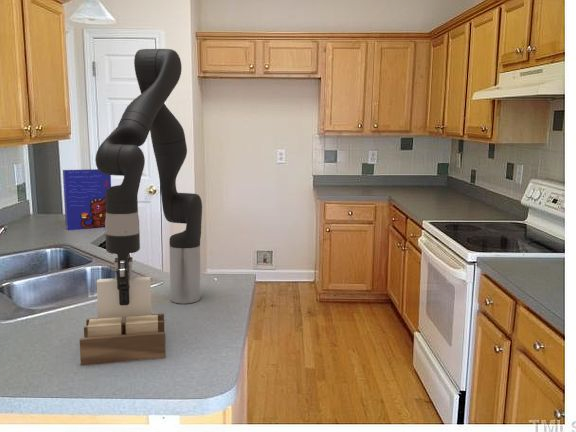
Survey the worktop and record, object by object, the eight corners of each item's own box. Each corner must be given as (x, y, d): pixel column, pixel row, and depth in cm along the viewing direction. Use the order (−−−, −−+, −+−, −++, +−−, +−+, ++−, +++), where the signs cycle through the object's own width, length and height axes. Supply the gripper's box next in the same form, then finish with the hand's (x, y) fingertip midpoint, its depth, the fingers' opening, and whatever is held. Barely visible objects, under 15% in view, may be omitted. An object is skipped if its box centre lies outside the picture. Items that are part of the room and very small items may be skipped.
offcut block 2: (127, 349, 119) (126, 316, 117) (158, 346, 121) (157, 314, 119) (126, 357, 114) (125, 324, 113) (158, 354, 116) (157, 321, 115)
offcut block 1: (91, 352, 117) (89, 319, 115) (123, 349, 118) (122, 317, 117) (88, 360, 112) (87, 326, 111) (122, 358, 114) (120, 324, 113)
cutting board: (100, 343, 122) (97, 279, 119) (151, 339, 125) (150, 276, 122) (99, 347, 119) (96, 282, 117) (151, 343, 122) (150, 279, 120)
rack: (88, 346, 123) (86, 318, 121) (164, 340, 127) (163, 313, 126) (80, 370, 111) (79, 340, 109) (165, 362, 115) (165, 333, 114)
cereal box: (109, 224, 270) (107, 168, 265) (112, 226, 265) (110, 169, 260) (65, 228, 258) (62, 169, 253) (67, 230, 253) (64, 170, 248)
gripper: (138, 237, 112) (140, 311, 114) (140, 225, 125) (141, 292, 128) (102, 238, 110) (105, 313, 113) (108, 225, 123) (110, 293, 126)
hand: (124, 301), depth 120 cm, fingers open, 3 cm apart
